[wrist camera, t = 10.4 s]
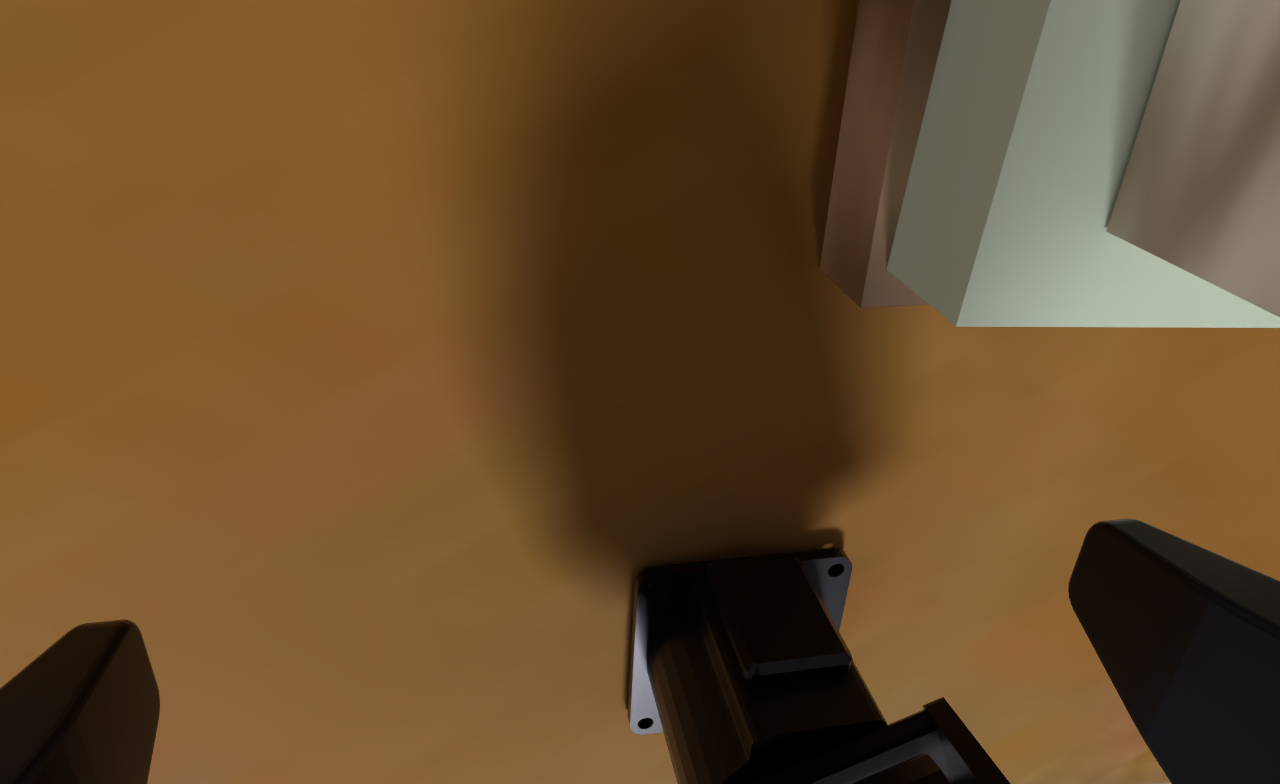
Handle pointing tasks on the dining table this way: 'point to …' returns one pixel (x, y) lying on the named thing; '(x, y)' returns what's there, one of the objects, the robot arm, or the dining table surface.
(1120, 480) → the dining table surface
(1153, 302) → the sage slab
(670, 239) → the dining table surface
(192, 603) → the dining table surface
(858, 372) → the dining table surface
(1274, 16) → the cream cube
